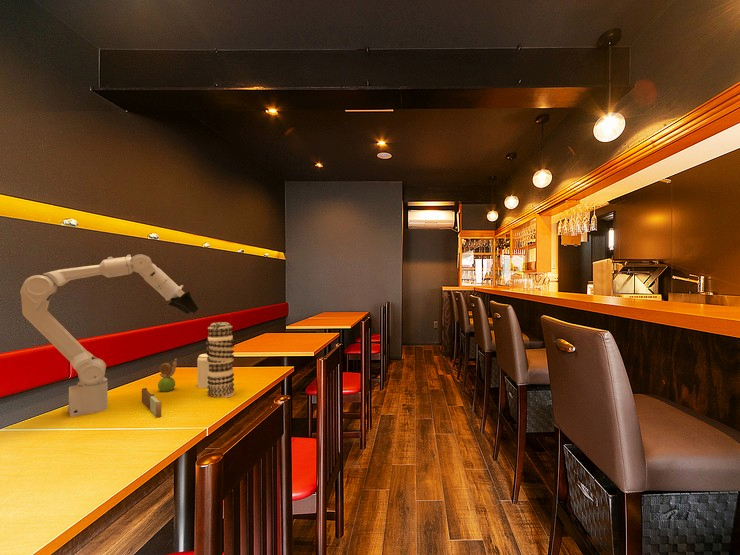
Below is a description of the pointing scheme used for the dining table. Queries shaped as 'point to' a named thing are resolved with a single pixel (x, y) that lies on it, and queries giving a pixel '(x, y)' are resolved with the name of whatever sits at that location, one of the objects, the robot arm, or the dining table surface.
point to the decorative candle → (220, 360)
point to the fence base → (146, 397)
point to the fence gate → (155, 406)
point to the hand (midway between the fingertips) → (193, 311)
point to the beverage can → (202, 371)
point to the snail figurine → (167, 377)
